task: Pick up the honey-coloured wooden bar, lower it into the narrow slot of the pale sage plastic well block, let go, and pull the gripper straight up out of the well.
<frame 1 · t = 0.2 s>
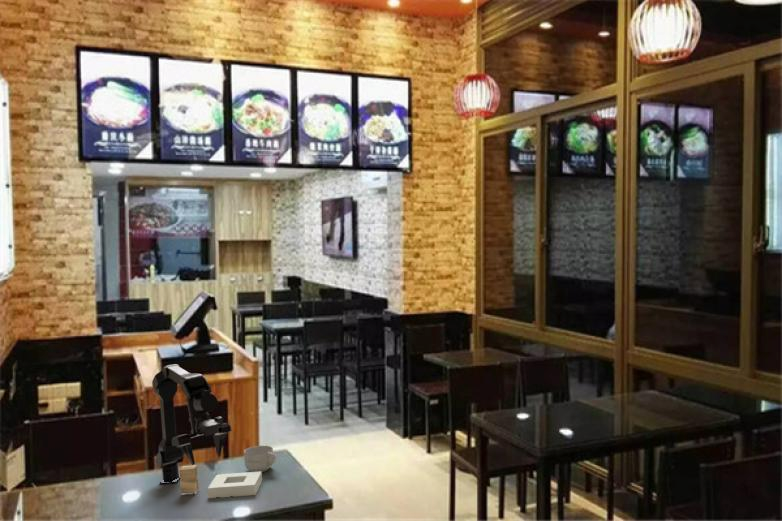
hand: (206, 460, 205), 15 cm above the table, tool pointing down, fingers open, 9 cm apart
well block: (236, 489, 218), on the table
teacup: (262, 471, 234), on the table
wooden bar: (190, 492, 218), on the table
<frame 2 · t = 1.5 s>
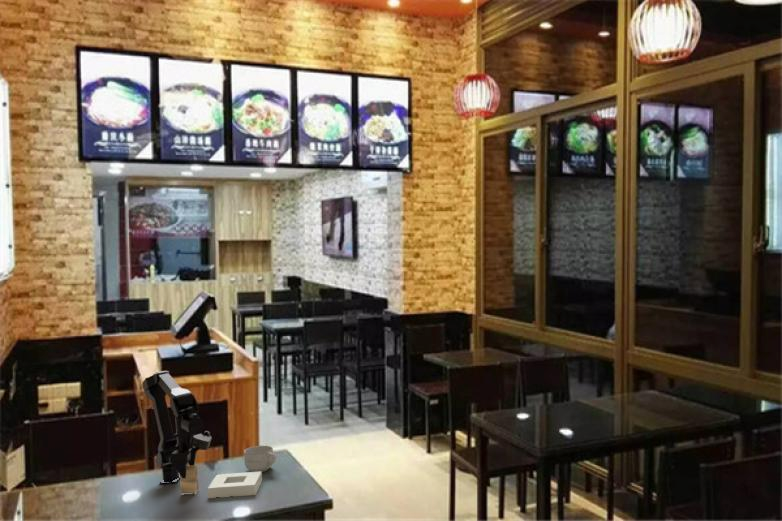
hand: (188, 472, 218), 7 cm above the table, tool pointing down, fingers open, 9 cm apart
nothing on the table moved.
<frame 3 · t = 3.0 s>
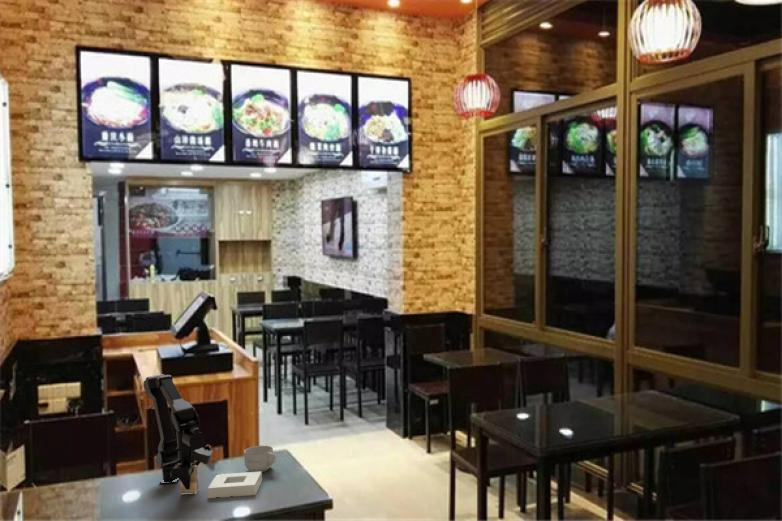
hand: (189, 487, 218), 2 cm above the table, tool pointing down, fingers closed on wooden bar, 3 cm apart
wooden bar: (190, 492, 218), on the table, touching gripper
everything else where it was.
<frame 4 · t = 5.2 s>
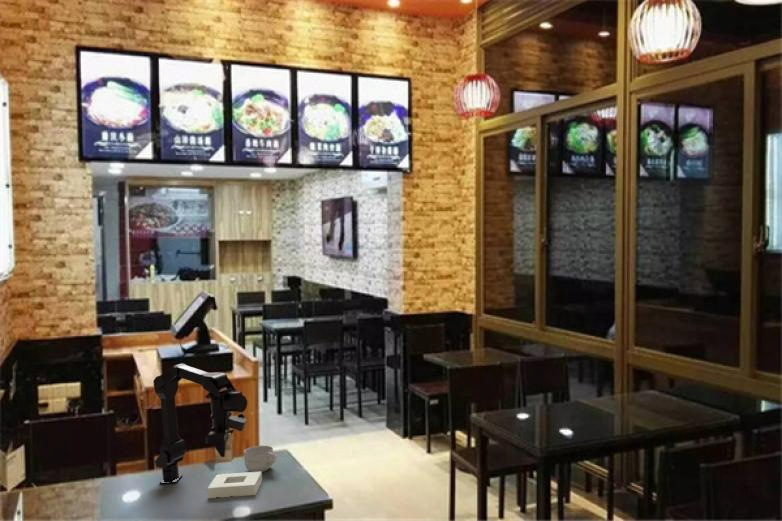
hand: (224, 454, 217), 13 cm above the table, tool pointing down, fingers closed on wooden bar, 3 cm apart
wooden bar: (224, 460, 217), point 11 cm above the table, touching gripper
everything else where it was.
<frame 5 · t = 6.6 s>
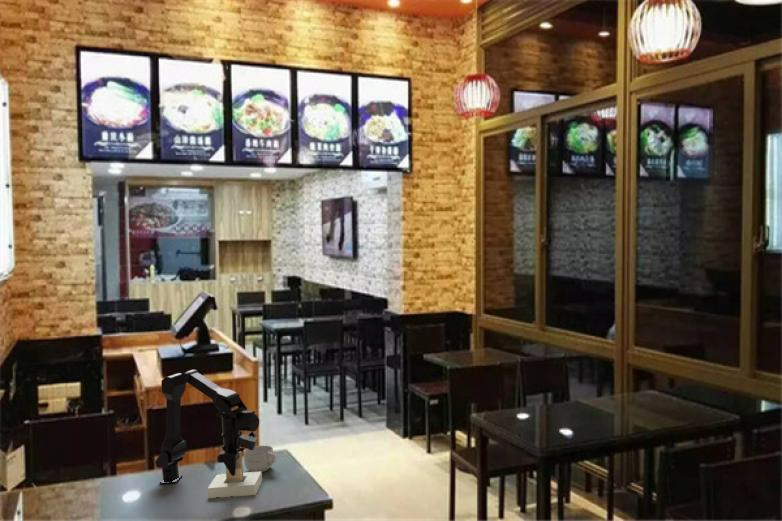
hand: (234, 473, 218), 6 cm above the table, tool pointing down, fingers closed on wooden bar, 3 cm apart
wooden bar: (235, 478, 218), point 4 cm above the table, touching gripper
everything else where it was.
when the fingers open (4 cm above the table, at t = 7.5 s): wooden bar drops 3 cm, resting in well block.
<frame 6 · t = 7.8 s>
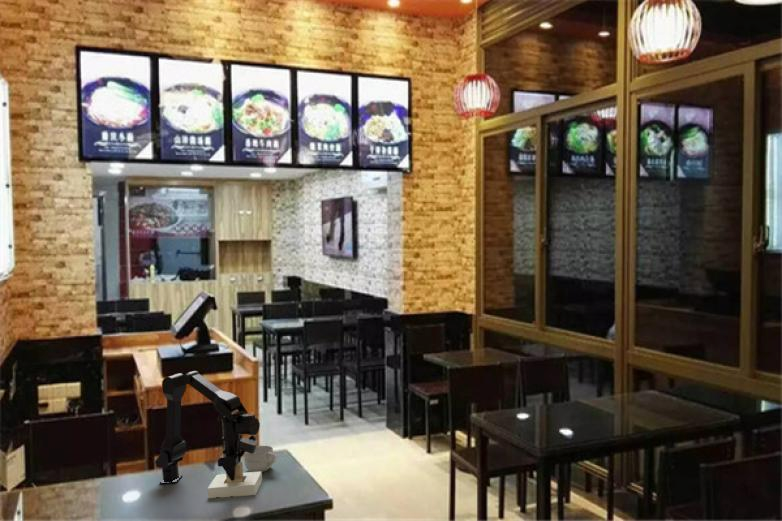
hand: (235, 476, 218), 4 cm above the table, tool pointing down, fingers open, 6 cm apart
wooden bar: (236, 489, 218), resting in well block
everything else where it was.
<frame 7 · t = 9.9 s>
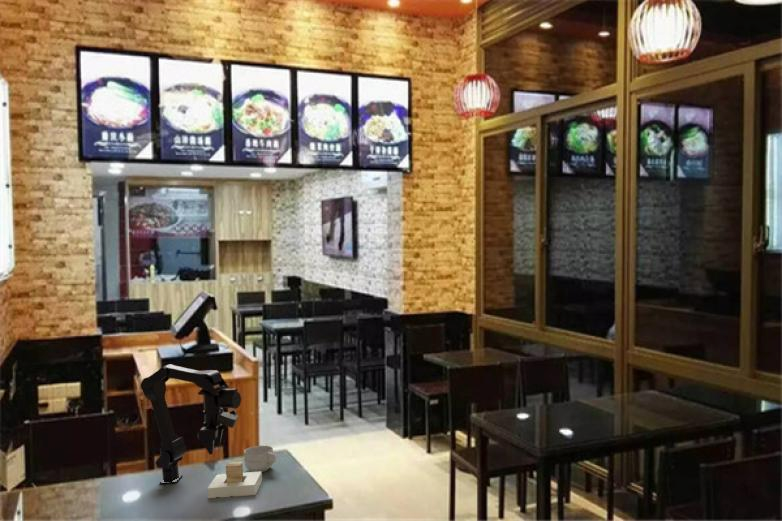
hand: (214, 449, 224), 12 cm above the table, tool pointing down, fingers open, 9 cm apart
nothing on the table moved.
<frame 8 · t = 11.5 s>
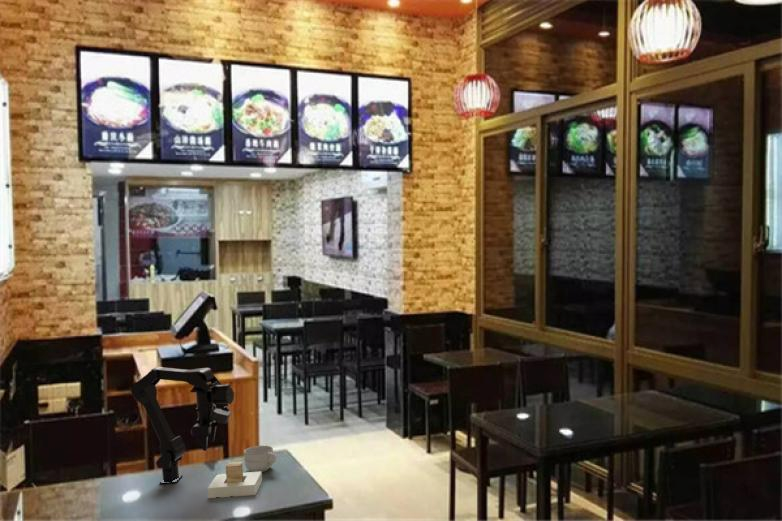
hand: (208, 446, 227), 13 cm above the table, tool pointing down, fingers open, 9 cm apart
nothing on the table moved.
at the end: wooden bar 0.0 cm off-centre on the well block, point 0.0 cm above the well block's base; wooden bar tilted 0°; the gripper is holding nothing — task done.
